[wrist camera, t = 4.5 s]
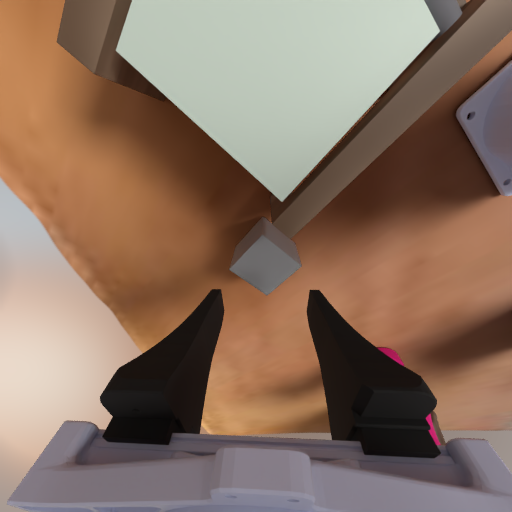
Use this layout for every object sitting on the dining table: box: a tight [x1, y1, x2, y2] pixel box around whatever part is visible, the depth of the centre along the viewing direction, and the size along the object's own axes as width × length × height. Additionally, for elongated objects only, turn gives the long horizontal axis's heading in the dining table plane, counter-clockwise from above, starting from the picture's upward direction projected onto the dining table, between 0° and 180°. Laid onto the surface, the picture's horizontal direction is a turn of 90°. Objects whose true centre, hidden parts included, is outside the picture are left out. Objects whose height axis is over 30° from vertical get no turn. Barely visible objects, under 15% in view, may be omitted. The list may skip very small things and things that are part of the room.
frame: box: [57, 0, 512, 239], centre depth 11 cm, size 14×13×7 cm
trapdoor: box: [116, 0, 462, 202], centre depth 8 cm, size 10×12×2 cm
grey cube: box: [229, 217, 302, 295], centre depth 19 cm, size 4×4×4 cm
